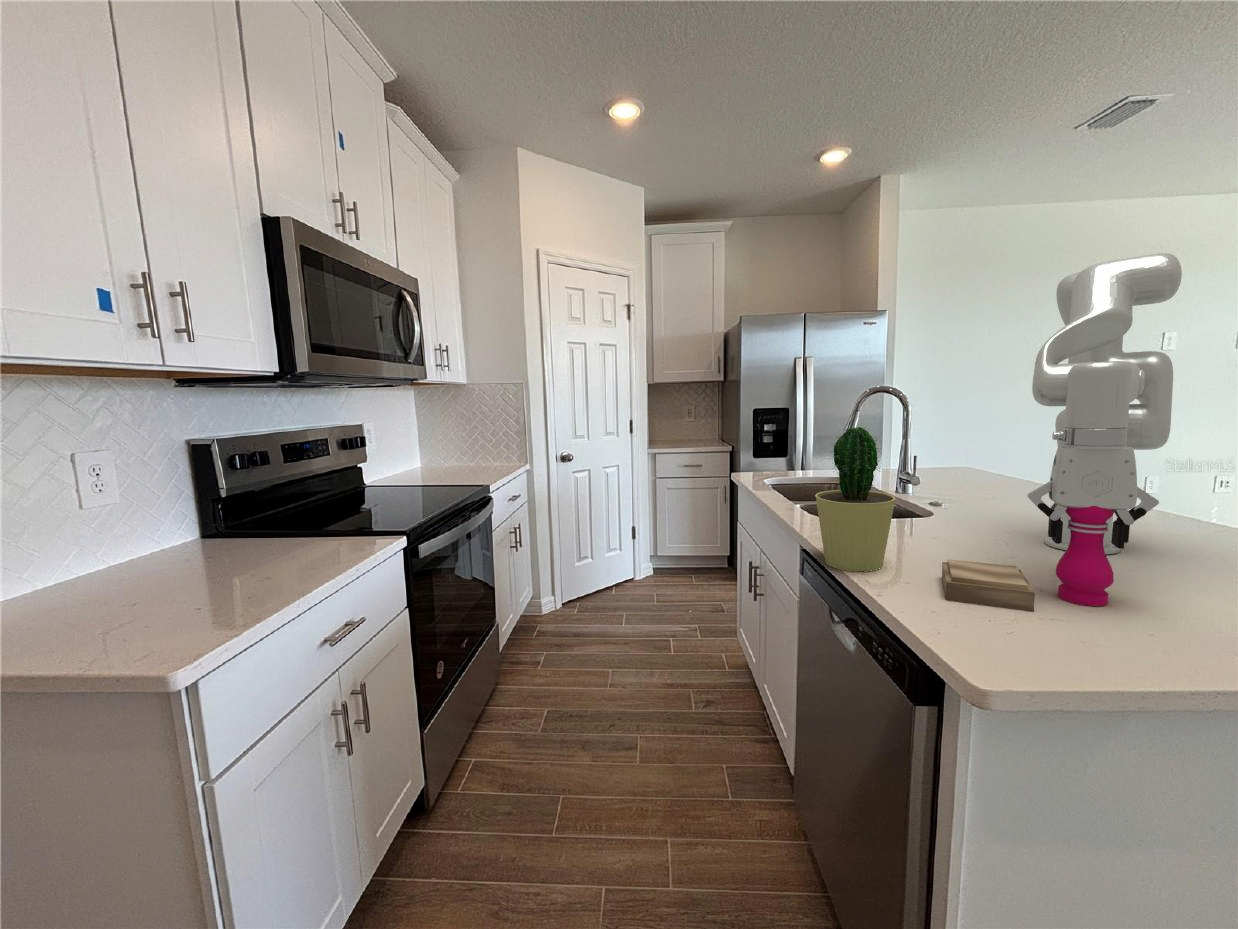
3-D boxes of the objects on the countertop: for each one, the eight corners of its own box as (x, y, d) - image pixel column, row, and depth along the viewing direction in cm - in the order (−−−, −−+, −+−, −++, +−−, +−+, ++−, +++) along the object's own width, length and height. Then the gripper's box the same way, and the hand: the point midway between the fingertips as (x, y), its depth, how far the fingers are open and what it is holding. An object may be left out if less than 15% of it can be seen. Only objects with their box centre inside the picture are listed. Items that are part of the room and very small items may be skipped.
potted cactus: (853, 549, 118) (855, 421, 114) (911, 568, 104) (915, 423, 100) (799, 558, 113) (799, 425, 109) (852, 580, 99) (855, 427, 95)
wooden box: (941, 577, 98) (942, 557, 97) (1019, 586, 92) (1020, 565, 92) (946, 599, 88) (946, 577, 87) (1033, 611, 82) (1035, 587, 81)
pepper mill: (1100, 611, 81) (1109, 489, 78) (1045, 597, 87) (1053, 483, 85) (1119, 601, 84) (1129, 483, 81) (1065, 588, 90) (1073, 478, 88)
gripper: (1031, 440, 83) (1025, 544, 85) (1180, 440, 75) (1169, 556, 77) (1022, 436, 90) (1016, 533, 92) (1158, 436, 81) (1148, 543, 83)
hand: (1086, 543), depth 84 cm, fingers open, 7 cm apart
